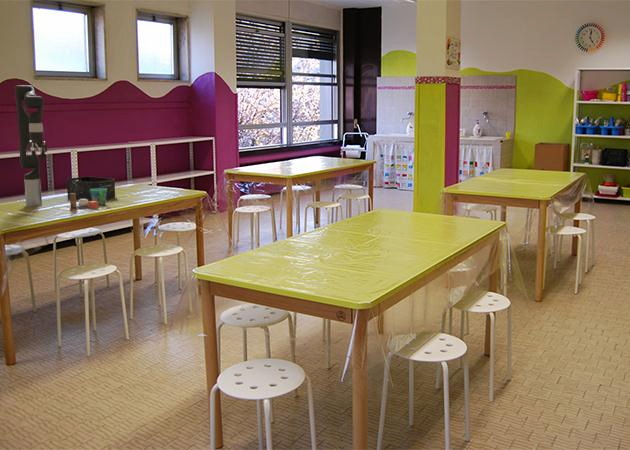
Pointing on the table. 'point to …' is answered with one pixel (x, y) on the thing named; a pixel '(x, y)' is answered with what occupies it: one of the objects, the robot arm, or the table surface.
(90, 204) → the board
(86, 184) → the storage bin
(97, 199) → the snack cup
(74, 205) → the pawn
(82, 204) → the dome
